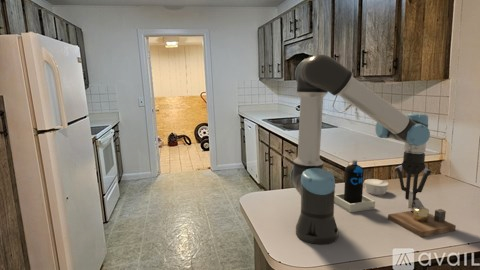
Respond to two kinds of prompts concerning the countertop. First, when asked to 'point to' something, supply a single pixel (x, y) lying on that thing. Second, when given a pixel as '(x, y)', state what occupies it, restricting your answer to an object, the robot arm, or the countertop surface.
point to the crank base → (423, 223)
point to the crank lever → (419, 211)
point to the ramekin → (376, 186)
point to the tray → (354, 207)
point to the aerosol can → (353, 183)
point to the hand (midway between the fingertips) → (409, 207)
